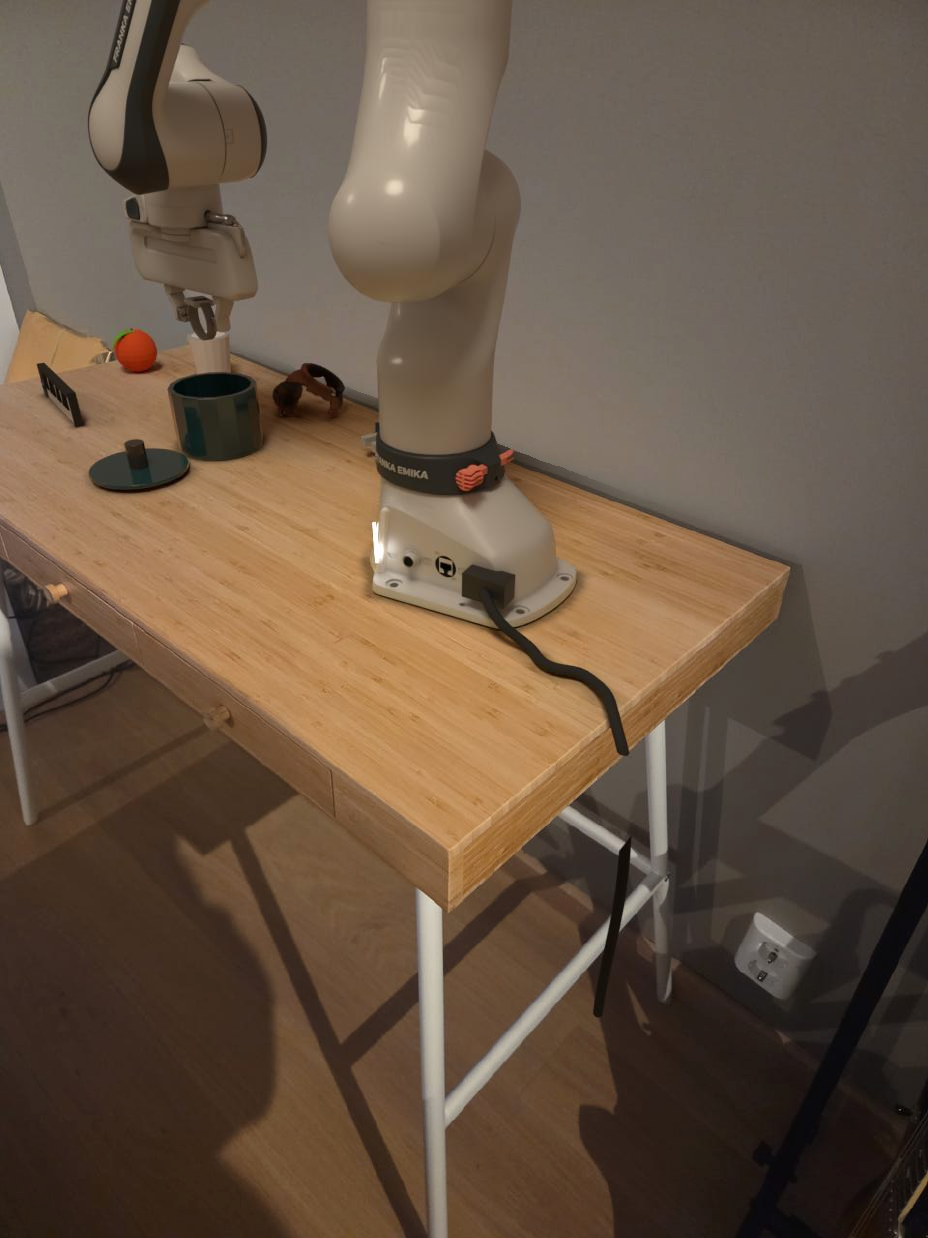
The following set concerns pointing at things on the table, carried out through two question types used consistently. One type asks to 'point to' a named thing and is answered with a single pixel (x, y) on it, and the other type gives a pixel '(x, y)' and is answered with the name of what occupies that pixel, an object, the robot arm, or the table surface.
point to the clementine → (135, 350)
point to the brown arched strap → (308, 389)
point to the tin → (216, 415)
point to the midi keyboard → (60, 394)
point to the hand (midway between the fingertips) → (203, 325)
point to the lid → (138, 467)
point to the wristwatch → (194, 317)
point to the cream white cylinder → (210, 353)
